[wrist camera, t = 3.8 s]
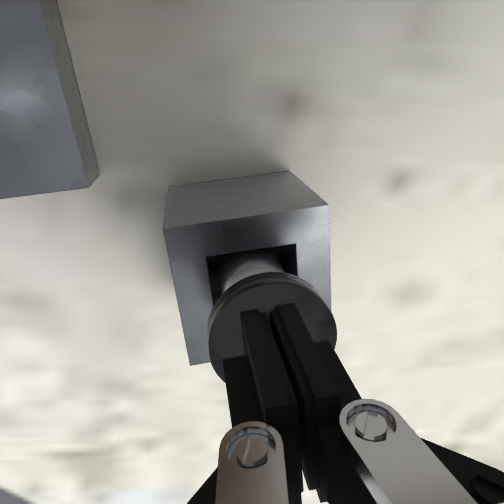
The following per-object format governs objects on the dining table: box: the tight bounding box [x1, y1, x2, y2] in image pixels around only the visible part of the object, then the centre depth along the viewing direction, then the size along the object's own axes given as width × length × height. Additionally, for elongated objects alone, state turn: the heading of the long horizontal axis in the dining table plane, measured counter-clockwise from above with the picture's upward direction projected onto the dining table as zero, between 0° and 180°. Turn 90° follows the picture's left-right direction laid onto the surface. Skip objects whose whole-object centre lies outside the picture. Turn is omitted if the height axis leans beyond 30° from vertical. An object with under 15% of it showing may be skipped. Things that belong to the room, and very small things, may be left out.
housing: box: [163, 171, 331, 366], centre depth 18 cm, size 6×6×6 cm
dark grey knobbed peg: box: [207, 247, 337, 383], centre depth 17 cm, size 4×4×9 cm
